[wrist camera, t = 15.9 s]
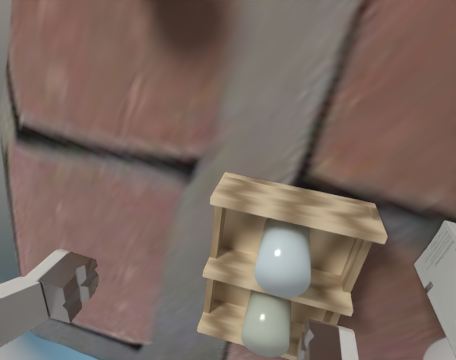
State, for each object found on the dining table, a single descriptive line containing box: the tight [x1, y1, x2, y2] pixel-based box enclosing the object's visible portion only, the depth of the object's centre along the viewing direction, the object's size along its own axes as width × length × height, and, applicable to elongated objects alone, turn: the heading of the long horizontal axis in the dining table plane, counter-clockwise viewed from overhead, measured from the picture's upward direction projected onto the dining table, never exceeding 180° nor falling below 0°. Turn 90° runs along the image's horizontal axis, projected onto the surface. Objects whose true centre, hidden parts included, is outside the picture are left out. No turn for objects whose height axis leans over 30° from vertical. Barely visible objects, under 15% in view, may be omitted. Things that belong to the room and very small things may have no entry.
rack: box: [197, 172, 388, 360], centre depth 43 cm, size 20×25×7 cm
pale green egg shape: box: [241, 290, 292, 357], centre depth 44 cm, size 6×6×9 cm
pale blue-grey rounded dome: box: [254, 218, 311, 297], centre depth 38 cm, size 6×6×9 cm
